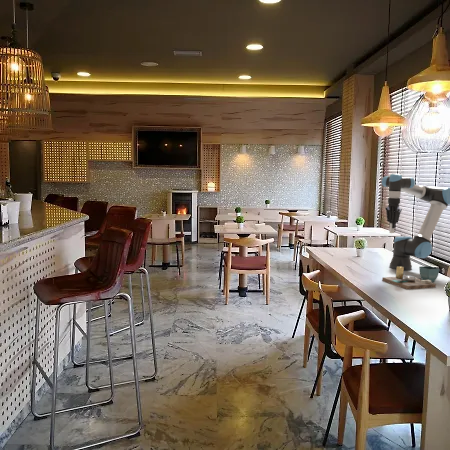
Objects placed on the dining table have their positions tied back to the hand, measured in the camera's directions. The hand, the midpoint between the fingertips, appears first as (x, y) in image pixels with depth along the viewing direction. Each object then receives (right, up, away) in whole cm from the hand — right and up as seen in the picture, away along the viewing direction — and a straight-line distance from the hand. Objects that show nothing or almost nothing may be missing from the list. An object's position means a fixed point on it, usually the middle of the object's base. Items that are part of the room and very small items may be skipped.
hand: (391, 232), depth 316 cm
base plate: (+3, -31, -21) cm, 38 cm away
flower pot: (+19, -31, -11) cm, 38 cm away
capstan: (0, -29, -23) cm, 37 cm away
